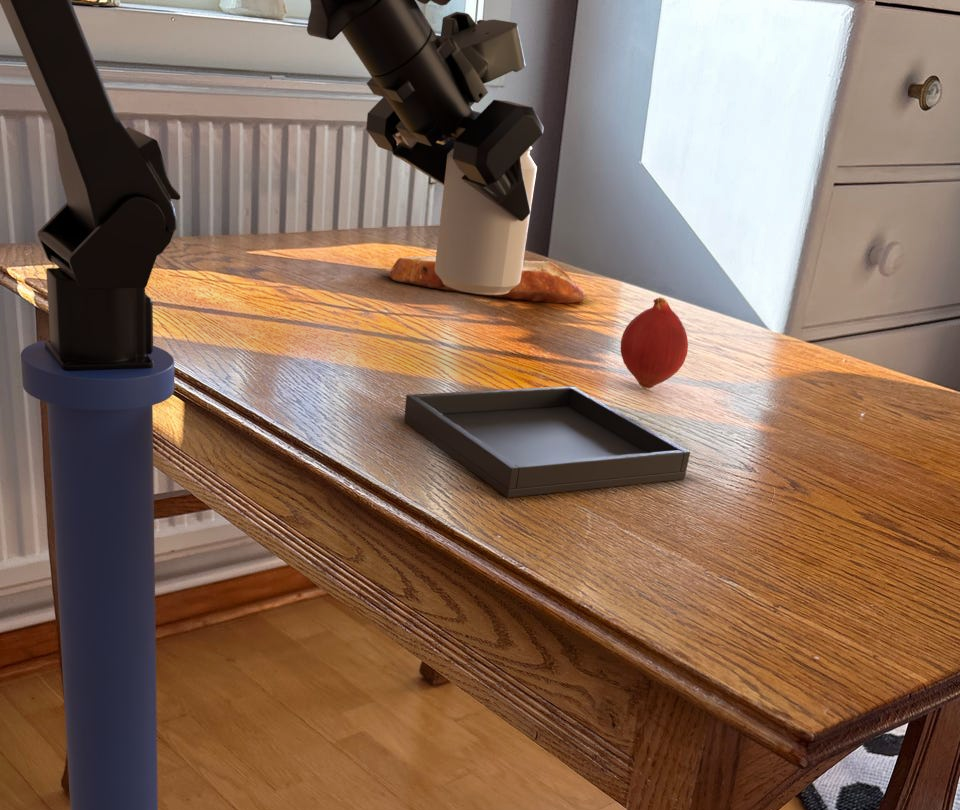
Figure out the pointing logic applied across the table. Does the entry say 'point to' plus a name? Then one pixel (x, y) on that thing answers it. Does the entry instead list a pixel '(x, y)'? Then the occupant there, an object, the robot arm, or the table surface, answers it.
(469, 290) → the can
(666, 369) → the onion
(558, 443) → the tray
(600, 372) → the table surface
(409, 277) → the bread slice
